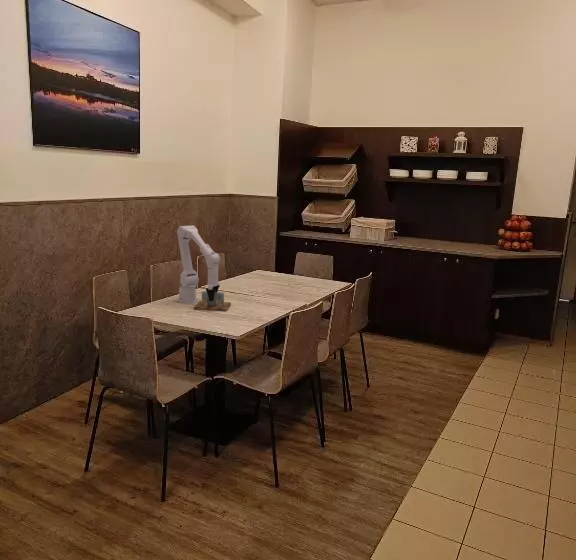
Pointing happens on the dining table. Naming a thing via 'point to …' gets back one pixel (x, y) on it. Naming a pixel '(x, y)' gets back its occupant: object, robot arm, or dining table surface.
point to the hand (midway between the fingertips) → (212, 299)
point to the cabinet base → (218, 307)
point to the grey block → (216, 297)
